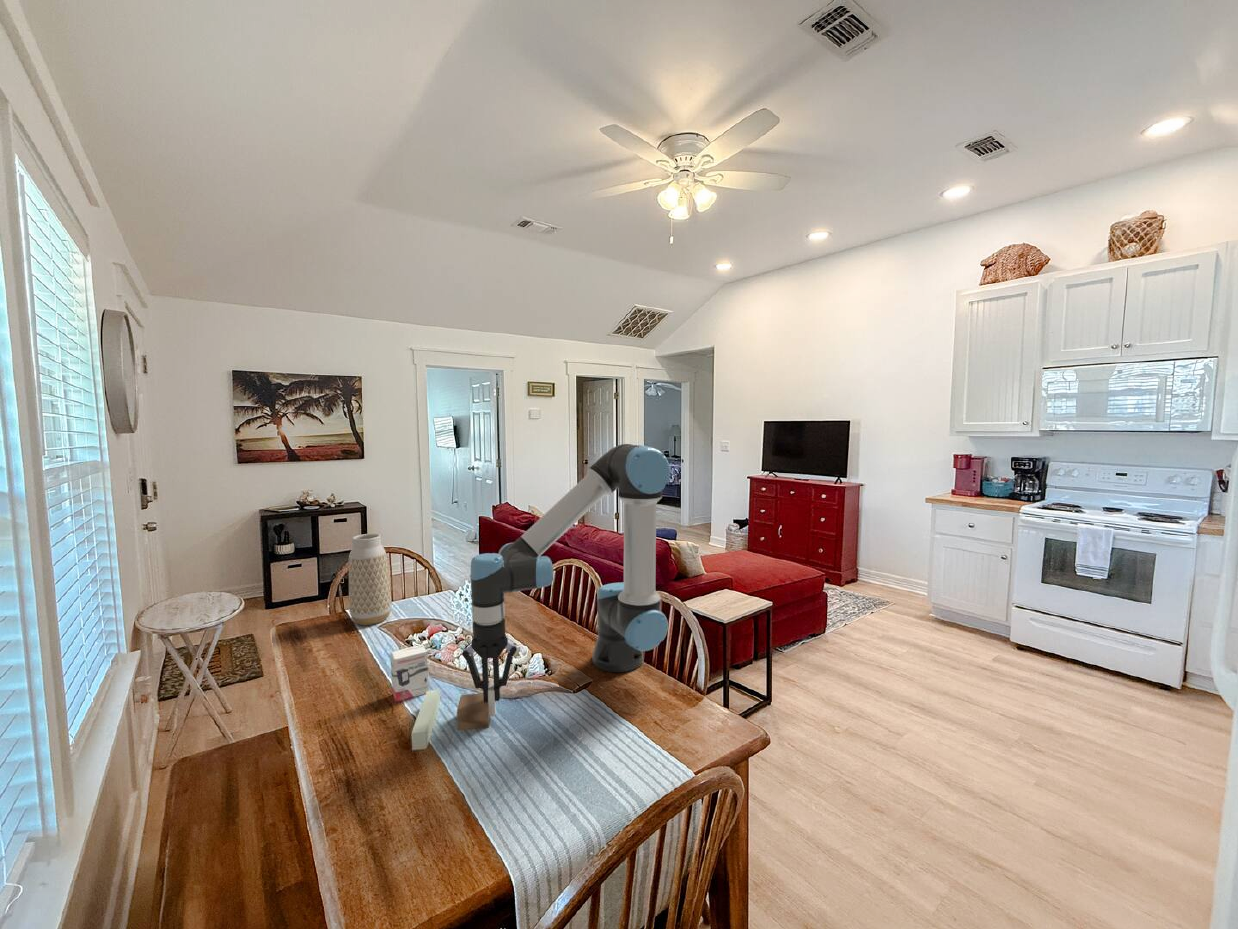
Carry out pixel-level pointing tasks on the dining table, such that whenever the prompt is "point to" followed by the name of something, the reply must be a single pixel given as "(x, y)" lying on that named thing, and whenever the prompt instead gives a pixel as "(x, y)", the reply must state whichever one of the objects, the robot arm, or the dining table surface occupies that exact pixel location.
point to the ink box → (409, 672)
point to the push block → (472, 712)
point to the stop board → (425, 720)
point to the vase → (368, 580)
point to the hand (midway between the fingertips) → (492, 713)
